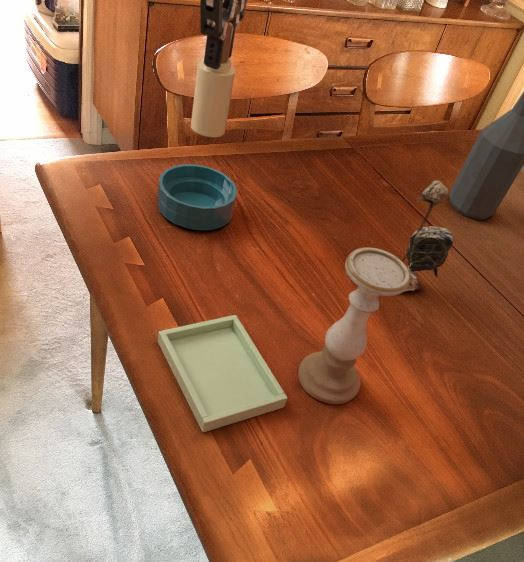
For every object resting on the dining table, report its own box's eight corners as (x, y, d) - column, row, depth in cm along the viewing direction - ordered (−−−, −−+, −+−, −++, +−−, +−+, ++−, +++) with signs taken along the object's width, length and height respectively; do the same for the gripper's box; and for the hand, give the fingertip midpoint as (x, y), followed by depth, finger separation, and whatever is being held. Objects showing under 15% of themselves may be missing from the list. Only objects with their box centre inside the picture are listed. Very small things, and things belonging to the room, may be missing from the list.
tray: (157, 341, 76) (158, 331, 74) (233, 324, 81) (235, 314, 79) (202, 432, 67) (204, 423, 66) (284, 407, 72) (287, 397, 71)
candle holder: (327, 347, 81) (375, 235, 67) (370, 387, 78) (431, 278, 63) (284, 371, 77) (326, 256, 62) (328, 415, 73) (384, 304, 58)
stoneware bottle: (185, 129, 81) (197, 22, 71) (198, 116, 85) (211, 12, 75) (218, 141, 81) (235, 34, 71) (229, 127, 85) (247, 24, 74)
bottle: (501, 218, 118) (589, 74, 96) (468, 223, 114) (552, 73, 92) (471, 191, 124) (548, 49, 102) (438, 194, 119) (510, 47, 98)
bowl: (144, 216, 94) (145, 190, 90) (175, 180, 103) (178, 156, 99) (216, 242, 93) (221, 217, 89) (242, 204, 102) (247, 180, 98)
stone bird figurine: (431, 306, 93) (490, 204, 79) (366, 284, 93) (413, 179, 79) (433, 277, 99) (489, 178, 84) (372, 257, 99) (418, 154, 85)
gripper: (229, -109, 69) (210, 39, 81) (185, -97, 59) (171, 69, 71) (285, -90, 69) (257, 55, 81) (251, -75, 59) (225, 88, 71)
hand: (217, 61), depth 76 cm, fingers closed on stoneware bottle, 3 cm apart
